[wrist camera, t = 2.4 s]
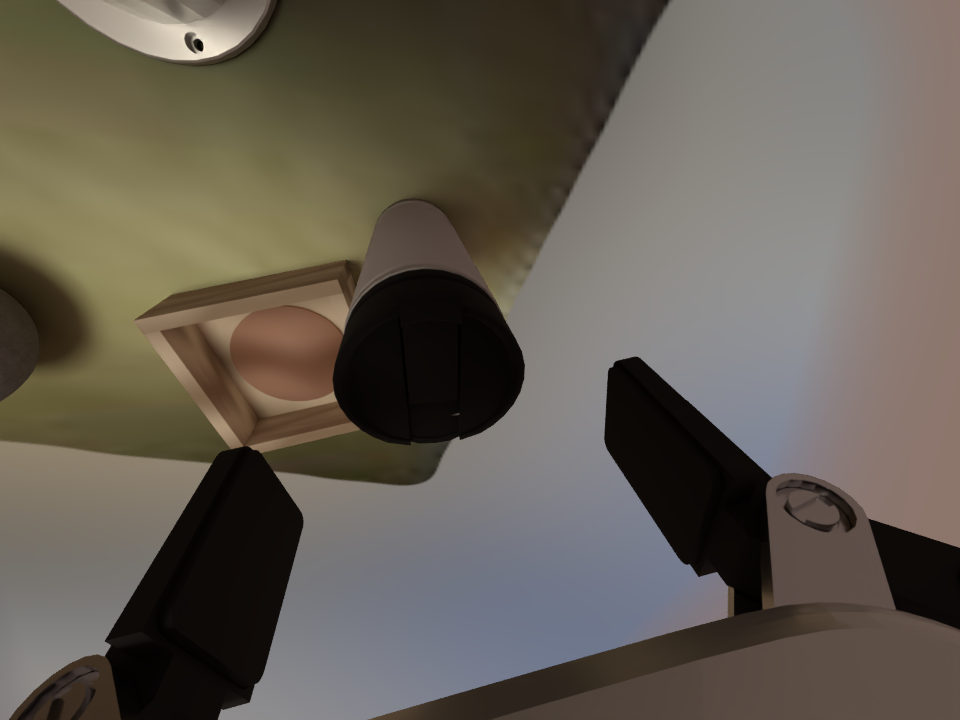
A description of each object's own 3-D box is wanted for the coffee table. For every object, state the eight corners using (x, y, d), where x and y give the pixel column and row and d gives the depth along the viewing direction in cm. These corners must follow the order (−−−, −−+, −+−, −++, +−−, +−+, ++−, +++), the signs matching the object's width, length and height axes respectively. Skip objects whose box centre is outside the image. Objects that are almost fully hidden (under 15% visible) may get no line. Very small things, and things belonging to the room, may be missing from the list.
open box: (171, 294, 27) (133, 320, 23) (346, 260, 28) (337, 279, 24) (256, 422, 34) (237, 458, 30) (393, 391, 35) (391, 422, 31)
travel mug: (454, 193, 26) (545, 287, 10) (455, 279, 30) (522, 457, 13) (367, 192, 25) (301, 296, 9) (378, 282, 29) (346, 479, 12)
